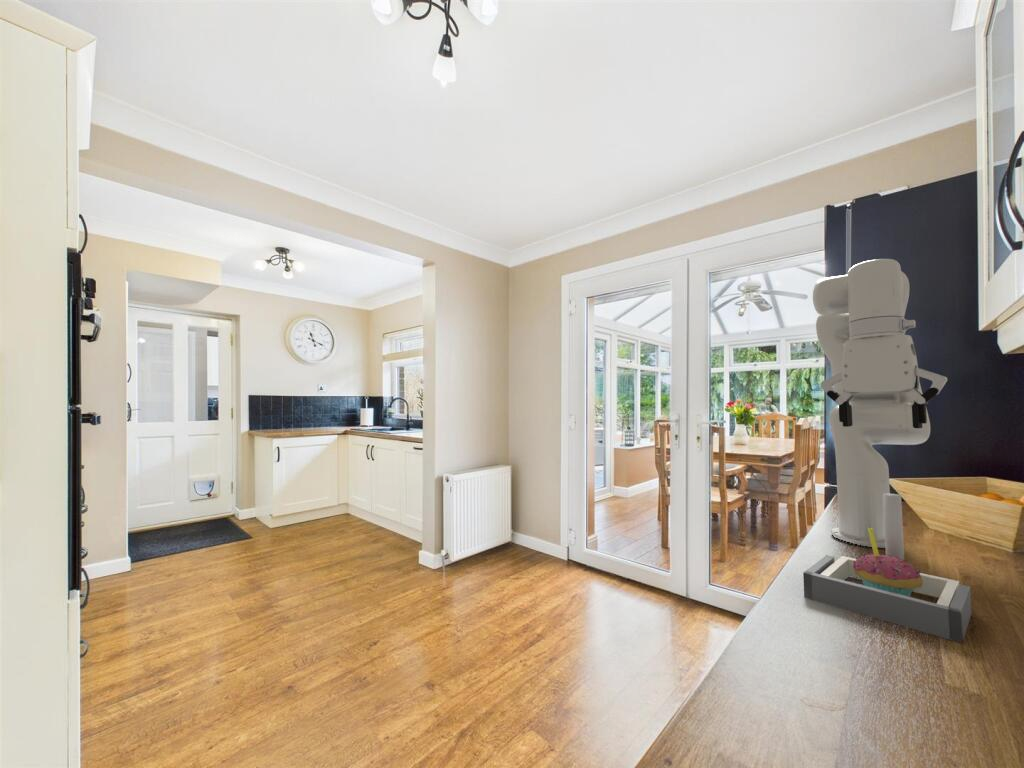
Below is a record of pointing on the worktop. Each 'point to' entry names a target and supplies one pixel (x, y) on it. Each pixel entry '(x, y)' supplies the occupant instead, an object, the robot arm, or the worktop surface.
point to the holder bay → (890, 603)
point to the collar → (897, 555)
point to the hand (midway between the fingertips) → (881, 427)
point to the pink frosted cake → (887, 571)
